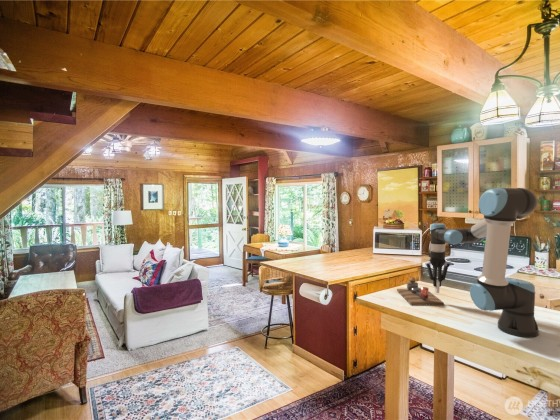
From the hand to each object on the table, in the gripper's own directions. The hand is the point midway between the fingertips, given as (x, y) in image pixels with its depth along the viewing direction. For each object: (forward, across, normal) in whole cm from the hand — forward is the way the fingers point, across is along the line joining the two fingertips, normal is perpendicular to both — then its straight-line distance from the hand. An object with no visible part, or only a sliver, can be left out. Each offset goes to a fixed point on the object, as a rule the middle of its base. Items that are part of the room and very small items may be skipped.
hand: (437, 292), depth 187 cm
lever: (+4, +7, -8) cm, 11 cm away
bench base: (+6, +7, -9) cm, 13 cm away
